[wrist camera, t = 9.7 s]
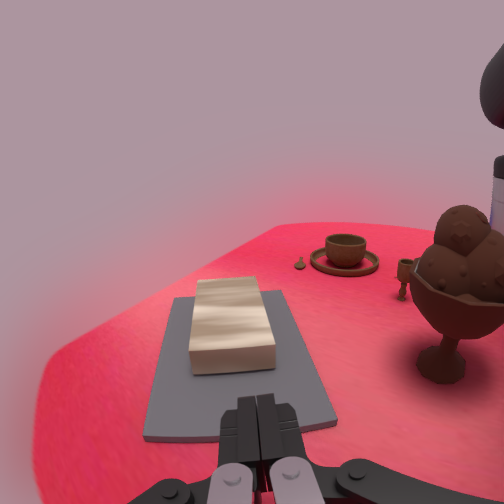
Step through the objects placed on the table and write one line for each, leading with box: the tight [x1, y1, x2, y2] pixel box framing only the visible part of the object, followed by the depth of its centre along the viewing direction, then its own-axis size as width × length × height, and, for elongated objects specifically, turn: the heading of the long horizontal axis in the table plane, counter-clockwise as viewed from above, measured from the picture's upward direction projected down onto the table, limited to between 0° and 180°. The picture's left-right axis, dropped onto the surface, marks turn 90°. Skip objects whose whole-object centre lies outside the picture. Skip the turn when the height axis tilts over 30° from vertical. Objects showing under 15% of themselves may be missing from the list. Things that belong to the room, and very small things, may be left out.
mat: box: [142, 290, 338, 443], centre depth 28 cm, size 22×14×1 cm, turn 6°
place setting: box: [294, 234, 414, 301], centre depth 44 cm, size 18×20×6 cm
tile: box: [189, 276, 276, 374], centre depth 30 cm, size 3×7×14 cm
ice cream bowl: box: [409, 205, 504, 384], centre depth 20 cm, size 11×11×15 cm
